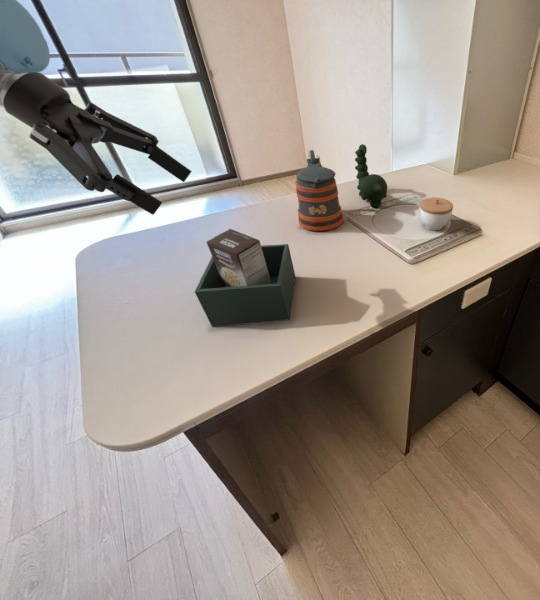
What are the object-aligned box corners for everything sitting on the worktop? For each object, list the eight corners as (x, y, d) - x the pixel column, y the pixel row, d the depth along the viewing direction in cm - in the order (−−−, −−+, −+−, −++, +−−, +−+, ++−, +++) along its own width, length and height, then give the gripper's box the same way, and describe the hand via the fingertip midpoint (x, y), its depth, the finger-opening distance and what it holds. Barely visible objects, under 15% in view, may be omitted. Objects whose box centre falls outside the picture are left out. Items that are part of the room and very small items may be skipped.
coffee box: (228, 300, 77) (203, 241, 66) (249, 285, 81) (229, 227, 70) (257, 313, 74) (235, 253, 63) (277, 297, 78) (260, 239, 67)
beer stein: (295, 209, 116) (284, 150, 103) (336, 204, 120) (330, 147, 107) (301, 234, 102) (289, 170, 89) (347, 228, 106) (342, 166, 93)
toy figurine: (351, 193, 132) (368, 215, 113) (346, 142, 121) (365, 157, 102) (373, 190, 134) (394, 211, 116) (370, 140, 123) (393, 154, 104)
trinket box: (451, 234, 106) (456, 207, 100) (419, 233, 106) (421, 205, 99) (448, 218, 114) (451, 192, 108) (417, 217, 114) (419, 191, 108)
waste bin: (211, 326, 71) (194, 291, 65) (229, 281, 84) (216, 247, 77) (289, 320, 74) (280, 285, 67) (295, 276, 86) (288, 243, 80)
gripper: (66, 93, 58) (188, 178, 70) (-66, 134, 39) (131, 240, 51) (82, 58, 55) (206, 153, 67) (-52, 85, 36) (152, 210, 48)
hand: (174, 191), depth 59 cm, fingers open, 13 cm apart
